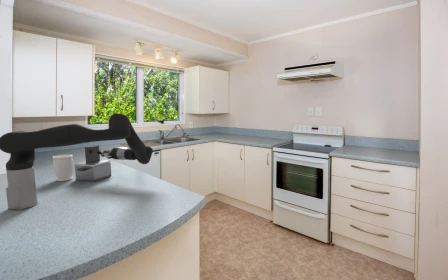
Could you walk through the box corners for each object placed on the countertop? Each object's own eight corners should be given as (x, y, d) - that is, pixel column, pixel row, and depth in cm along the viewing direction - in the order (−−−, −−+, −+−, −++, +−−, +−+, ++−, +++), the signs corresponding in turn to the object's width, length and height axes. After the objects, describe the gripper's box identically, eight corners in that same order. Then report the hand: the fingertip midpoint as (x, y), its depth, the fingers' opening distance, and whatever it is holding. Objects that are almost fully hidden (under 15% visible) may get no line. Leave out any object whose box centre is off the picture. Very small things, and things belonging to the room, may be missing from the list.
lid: (93, 166, 140) (91, 148, 139) (74, 165, 144) (73, 147, 143) (110, 161, 154) (109, 145, 152) (93, 160, 158) (92, 144, 156)
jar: (64, 182, 141) (62, 157, 139) (50, 181, 143) (47, 157, 141) (78, 177, 151) (77, 154, 149) (65, 176, 153) (63, 153, 151)
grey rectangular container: (90, 183, 139) (89, 168, 138) (71, 181, 143) (70, 166, 142) (114, 174, 158) (113, 161, 157) (97, 173, 162) (96, 160, 161)
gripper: (113, 161, 137) (89, 160, 142) (129, 157, 149) (106, 156, 154) (113, 149, 136) (89, 147, 141) (128, 145, 148) (106, 144, 153)
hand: (98, 152), depth 147 cm, fingers closed
